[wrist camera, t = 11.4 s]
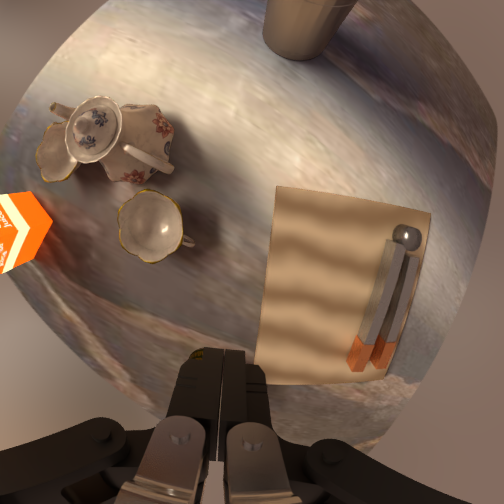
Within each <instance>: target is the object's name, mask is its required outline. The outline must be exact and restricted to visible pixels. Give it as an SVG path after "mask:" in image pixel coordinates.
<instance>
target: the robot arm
mask: <svg viewBox="0 0 504 504" xmlns="http://www.w3.org/2000/svg"><path fill="white" fill-rule="evenodd" d="M357 1H358V0H268V1H267V7H266V13H265V19H264V26H263V38H264V41H265V43H266V44H267V46H268V47H269V48H270V49H271V50H272V51H273V52H275V53H277V54H278V55H280V56H282V57H285V58H288V59H292V60H309V59H313V58H315V57H317V56H318V55H320V54H321V53H322V52H323V50H324V49H325V47H326V46H327V44H328V43H329V41H330V40H331V39H332V37H333V36H334V34H335V33H336V31H337V30H338V28H339V27H340V25H341V24H342V22H343V21H344V20H345V18H346V17H347V15H348V14H349V12H350V11H351V10H352V8H353V7H354V5H355V4H356V3H357ZM223 354H224V349H217V348H208V347H204V351H203V356H202V360H197V359H188V360H187V361H186V362H185V363H184V364H183V365H182V366H181V368H180V371H179V374H178V378H177V381H176V386H175V388H174V391H173V395H172V398H171V401H170V405H169V408H168V412H167V415H166V418H165V419H163V420H161V421H160V422H159V423H158V424H157V425H156V427H154V428H152V429H147V430H133V431H132V430H131V431H125V430H124V428H123V427H122V426H121V425H120V424H119V423H118V422H116V421H114V420H112V419H109V418H103V417H99V418H93V419H90V420H88V421H85V422H83V423H80V424H78V425H75V426H73V427H70V428H68V429H65V430H62V431H60V432H57V433H55V434H52V435H49V436H46V437H43V438H40V439H38V440H35V441H32V442H29V443H25V444H23V445H19V446H16V447H13V448H9V449H6V450H2V451H0V504H202V499H203V494H204V488H205V483H206V478H207V475H208V469H209V461H216V450H217V436H218V422H219V409H220V397H221V384H222V368H223ZM218 461H223V462H224V475H223V489H224V503H225V504H471V503H468V502H466V501H463V500H460V499H457V498H455V497H452V496H449V495H447V494H444V493H442V492H439V491H437V490H435V489H432V488H430V487H428V486H426V485H423V484H421V483H419V482H417V481H414V480H413V479H410V478H408V477H406V476H404V475H402V474H400V473H398V472H396V471H395V470H393V469H391V468H389V467H387V466H385V465H383V464H381V463H380V462H378V461H376V460H374V459H372V458H371V457H369V456H367V455H365V454H364V453H362V452H360V451H359V450H357V449H355V448H353V447H352V446H350V445H349V444H347V443H345V442H343V441H340V440H337V439H323V440H320V441H317V442H316V443H314V444H313V445H312V446H311V447H309V446H303V445H298V444H294V443H290V442H288V441H285V440H283V439H282V438H280V437H279V436H278V435H277V434H276V433H275V431H274V430H273V428H272V424H271V416H270V408H269V401H268V394H267V386H266V377H265V373H264V372H263V370H262V369H261V368H260V366H259V365H255V364H245V351H241V350H229V349H226V350H225V361H224V373H223V386H222V399H221V412H220V428H219V447H218Z"/></svg>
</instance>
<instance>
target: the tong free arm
mask: <svg viewBox="0 0 504 504" xmlns="http://www.w3.org/2000/svg"><path fill="white" fill-rule="evenodd" d="M392 239H393V240H389V239H386V243H385V247H384V251H383V255H382V259H381V262H380V266H379V270H378V273H377V277H376V280H375V283H374V287H373V290H372V293H371V296H370V299H369V302H368V305H367V308H366V311H365V314H364V317H363V320H362V323H361V326H360V328H359V331H358V334H357V335H356V337H355V339H354V342H353V345H352V347H351V350H350V352H349V355H348V357H347V360H346V362H347V364H348V366H349V368H350V370H351V371H352V372H363V371H364V369H365V367H366V364H367V362H368V360H369V358H370V355H371V353H372V351H373V348H374V346H375V345H374V344H375V341H376V339H377V336H378V334H379V331H380V328H381V326H382V323H383V320H384V318H385V315H386V312H387V309H388V307H389V304H390V301H391V298H392V295H393V292H394V289H395V286H396V282H397V279H398V276H399V272H400V269H401V265H402V262H403V258H404V255H405V251H406V250H408V251H415V250H417V249H418V248H419V247H420V245H421V242H422V234H421V232H420V230H419V229H417V228H414V227H411V226H408V225H404V224H399V225H397V226H396V227H395V228H394V230H393V233H392Z"/></svg>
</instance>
